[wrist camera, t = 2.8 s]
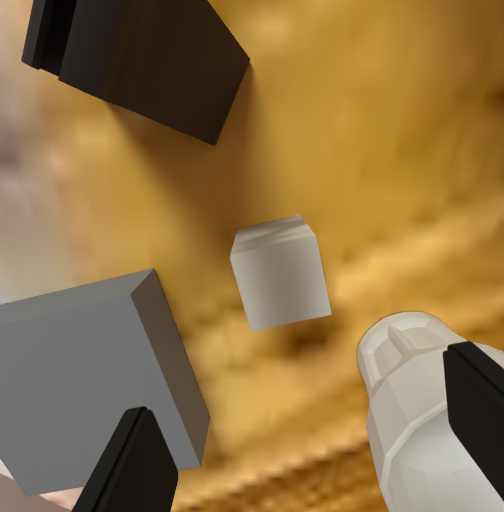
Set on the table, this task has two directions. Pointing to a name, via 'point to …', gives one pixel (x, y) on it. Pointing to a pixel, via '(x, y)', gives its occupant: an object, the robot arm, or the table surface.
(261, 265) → the cream block
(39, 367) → the slate block
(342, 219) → the table surface
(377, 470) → the cup
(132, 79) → the phone stand
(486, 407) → the robot arm
